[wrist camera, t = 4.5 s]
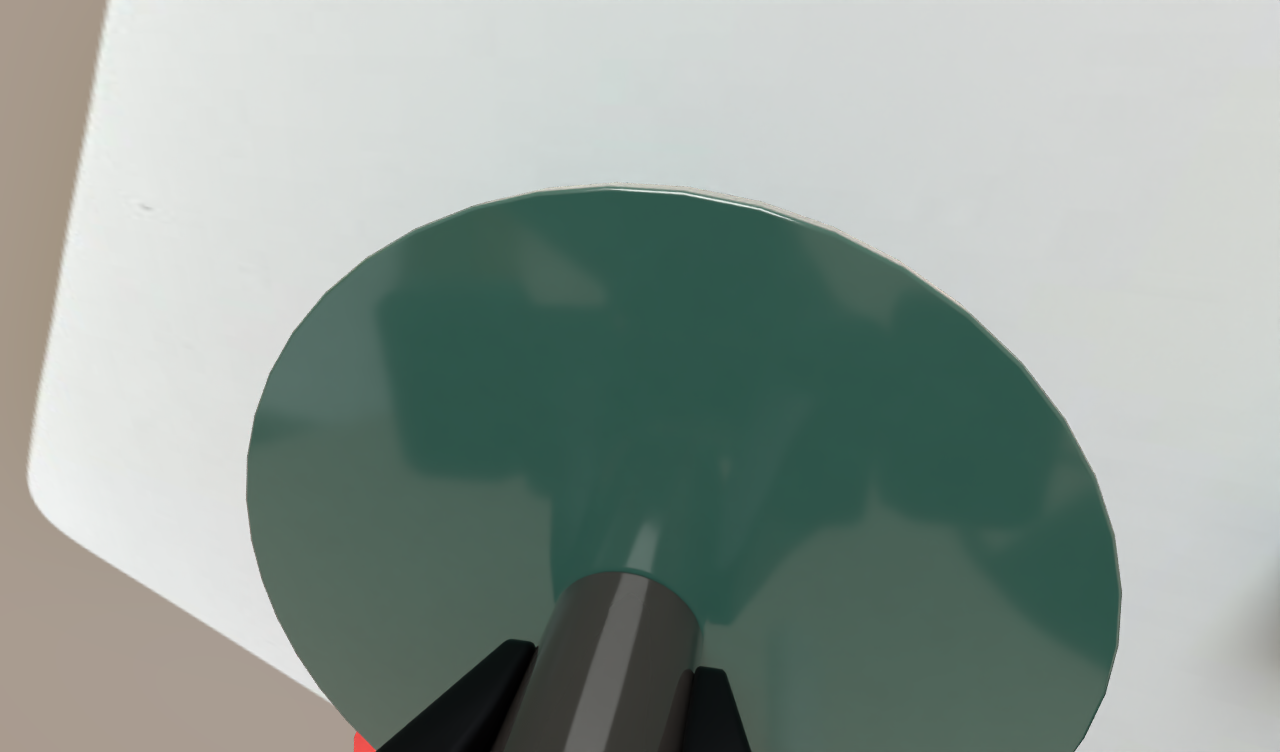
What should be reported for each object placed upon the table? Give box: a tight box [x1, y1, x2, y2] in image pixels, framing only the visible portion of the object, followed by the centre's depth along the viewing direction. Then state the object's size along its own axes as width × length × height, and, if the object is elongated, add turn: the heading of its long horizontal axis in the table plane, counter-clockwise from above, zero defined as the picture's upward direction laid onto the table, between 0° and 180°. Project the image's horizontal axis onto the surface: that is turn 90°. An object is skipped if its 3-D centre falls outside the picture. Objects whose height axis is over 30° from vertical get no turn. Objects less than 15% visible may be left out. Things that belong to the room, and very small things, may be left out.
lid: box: [246, 182, 1122, 752], centre depth 8 cm, size 13×13×6 cm
